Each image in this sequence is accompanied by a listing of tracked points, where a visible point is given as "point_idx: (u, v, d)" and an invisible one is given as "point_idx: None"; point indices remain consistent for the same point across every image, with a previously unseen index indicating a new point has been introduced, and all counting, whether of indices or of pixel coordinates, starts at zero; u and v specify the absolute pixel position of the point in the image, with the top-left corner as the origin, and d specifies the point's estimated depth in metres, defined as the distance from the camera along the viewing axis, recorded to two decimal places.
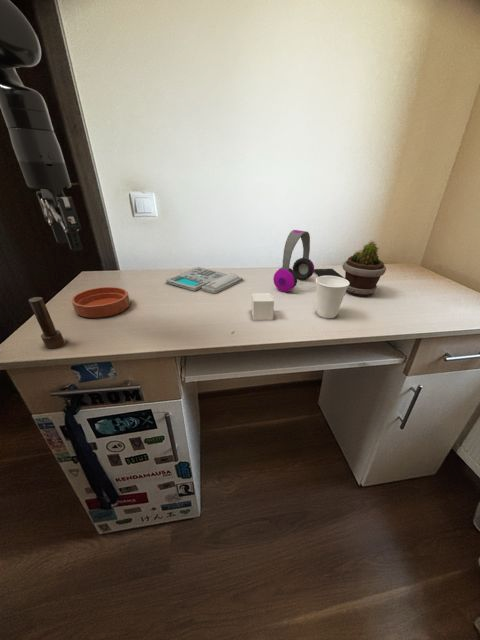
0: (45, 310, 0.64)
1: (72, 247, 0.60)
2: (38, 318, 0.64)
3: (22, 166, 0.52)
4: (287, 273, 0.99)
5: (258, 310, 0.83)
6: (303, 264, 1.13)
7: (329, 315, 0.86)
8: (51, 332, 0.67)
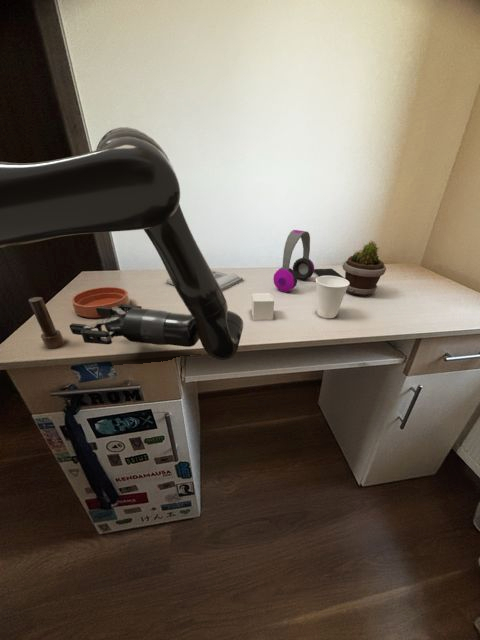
0: (45, 310, 0.64)
1: (72, 326, 0.59)
2: (38, 318, 0.64)
3: (141, 312, 0.59)
4: (287, 273, 0.99)
5: (258, 310, 0.83)
6: (303, 264, 1.13)
7: (329, 315, 0.86)
8: (51, 332, 0.67)
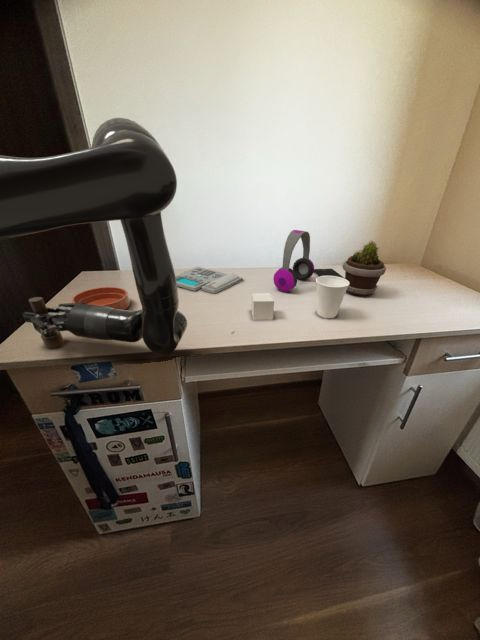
0: (45, 310, 0.64)
1: (25, 314, 0.63)
2: None
3: (86, 308, 0.61)
4: (287, 273, 0.99)
5: (258, 310, 0.83)
6: (303, 264, 1.13)
7: (329, 315, 0.86)
8: (51, 332, 0.67)
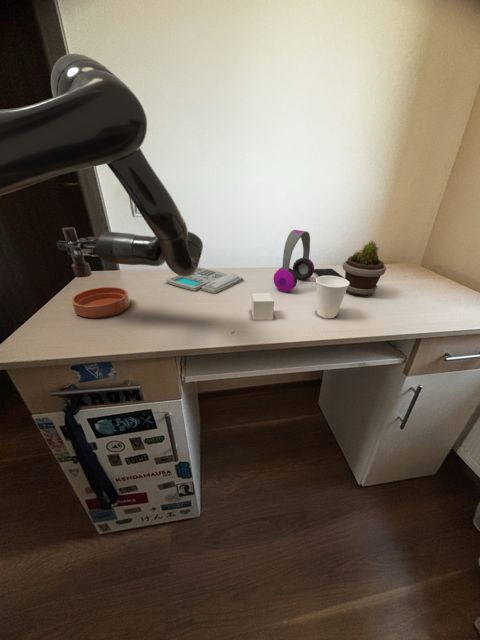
0: (76, 239, 0.72)
1: (58, 242, 0.71)
2: None
3: (114, 233, 0.68)
4: (287, 273, 0.99)
5: (258, 310, 0.83)
6: (303, 264, 1.13)
7: (329, 315, 0.86)
8: (81, 261, 0.74)
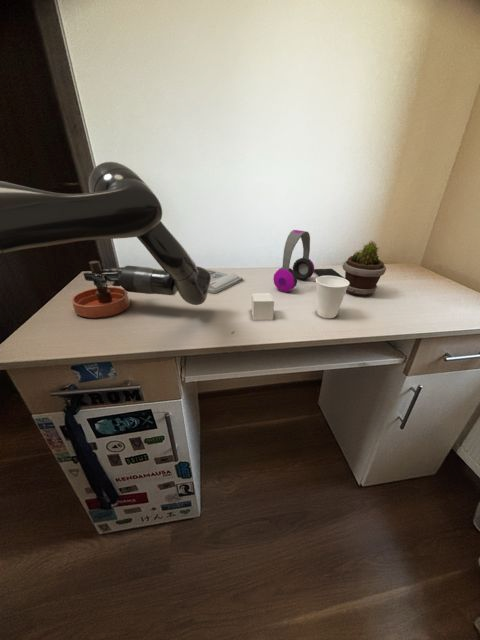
0: (100, 271, 0.83)
1: (85, 274, 0.82)
2: None
3: (134, 268, 0.79)
4: (287, 273, 0.99)
5: (258, 310, 0.83)
6: (303, 264, 1.13)
7: (329, 315, 0.86)
8: (104, 289, 0.85)
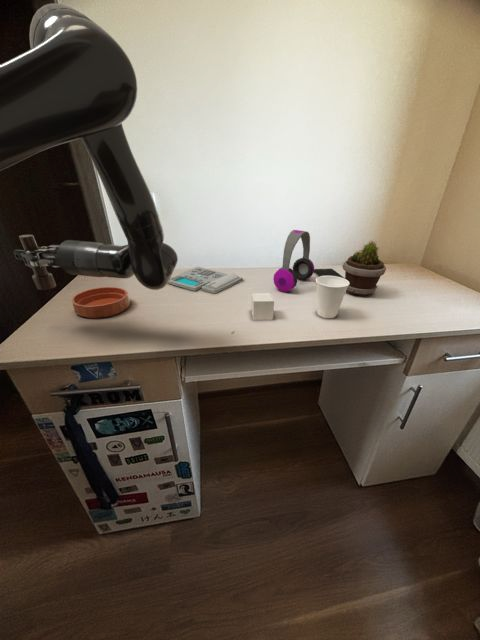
0: (36, 248, 0.64)
1: (15, 251, 0.63)
2: None
3: (76, 242, 0.61)
4: (287, 273, 0.99)
5: (258, 310, 0.83)
6: (303, 264, 1.13)
7: (329, 315, 0.86)
8: (42, 272, 0.67)
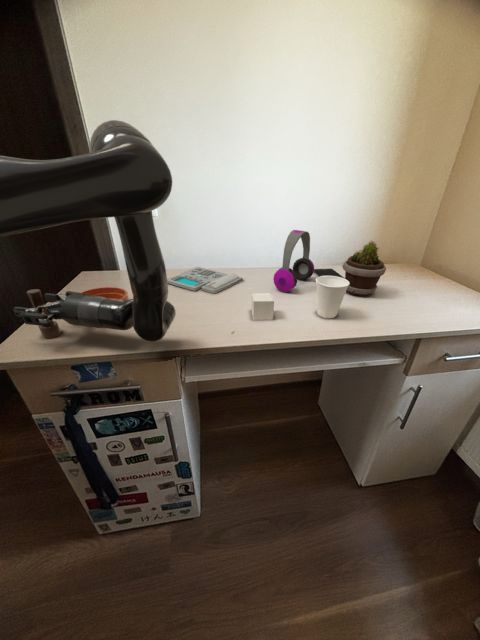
0: (42, 301, 0.68)
1: (15, 309, 0.65)
2: None
3: (79, 297, 0.64)
4: (287, 273, 0.99)
5: (258, 310, 0.83)
6: (303, 264, 1.13)
7: (329, 315, 0.86)
8: None
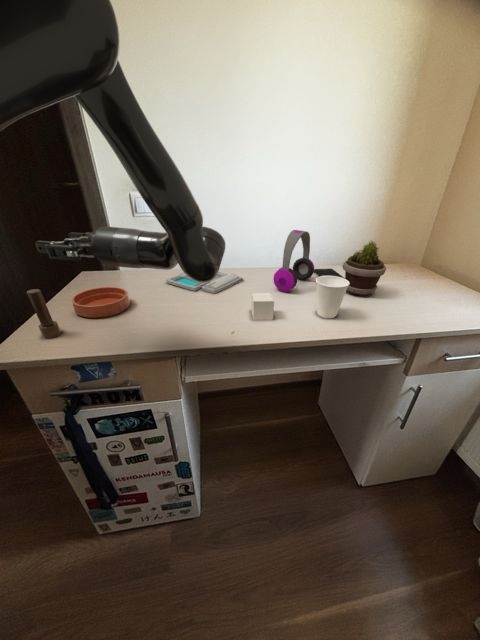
0: (42, 301, 0.68)
1: (37, 242, 0.54)
2: (36, 309, 0.68)
3: (113, 229, 0.54)
4: (287, 273, 0.99)
5: (258, 310, 0.83)
6: (303, 264, 1.13)
7: (329, 315, 0.86)
8: (48, 322, 0.71)
